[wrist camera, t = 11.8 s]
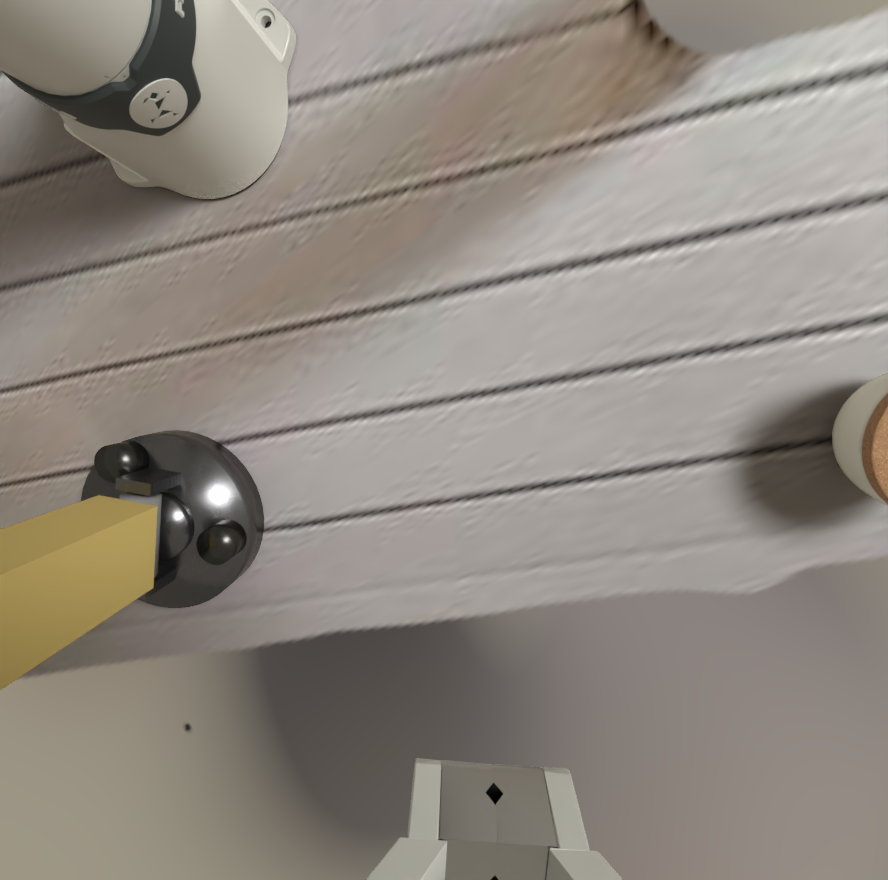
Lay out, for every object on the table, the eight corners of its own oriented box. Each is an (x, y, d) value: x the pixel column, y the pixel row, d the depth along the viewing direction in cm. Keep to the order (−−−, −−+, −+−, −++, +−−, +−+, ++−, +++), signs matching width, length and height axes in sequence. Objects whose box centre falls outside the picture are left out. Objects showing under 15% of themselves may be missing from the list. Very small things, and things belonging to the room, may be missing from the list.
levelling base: (103, 575, 51) (40, 610, 44) (108, 417, 48) (42, 427, 41) (256, 607, 50) (216, 648, 43) (271, 445, 47) (230, 461, 40)
